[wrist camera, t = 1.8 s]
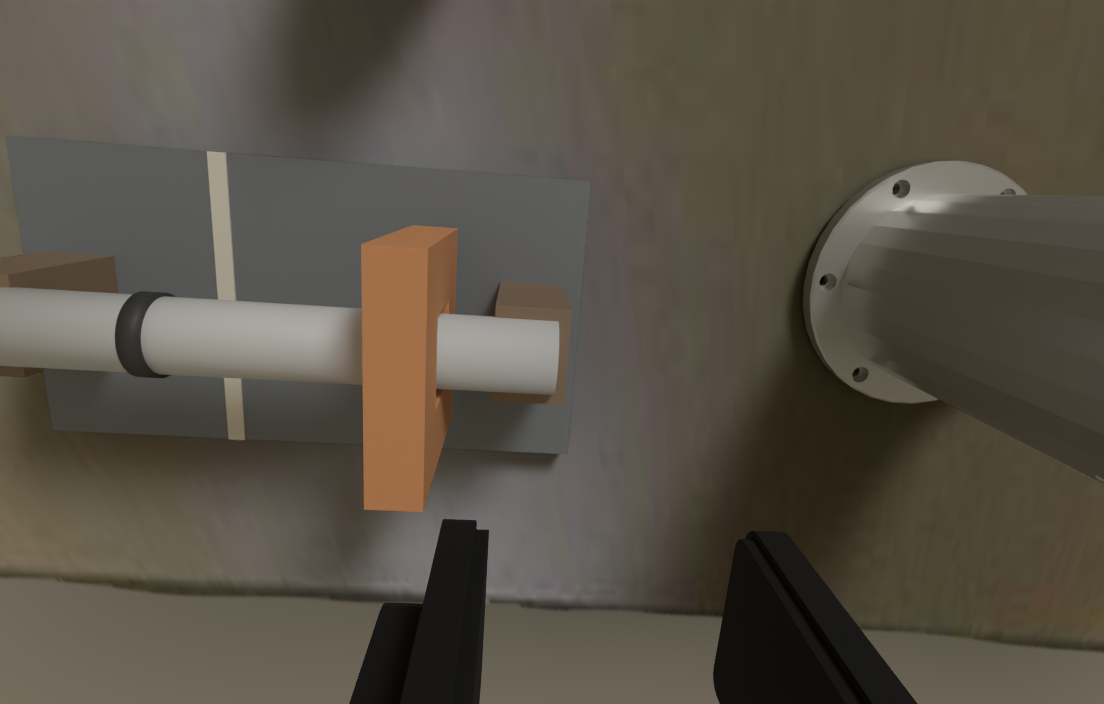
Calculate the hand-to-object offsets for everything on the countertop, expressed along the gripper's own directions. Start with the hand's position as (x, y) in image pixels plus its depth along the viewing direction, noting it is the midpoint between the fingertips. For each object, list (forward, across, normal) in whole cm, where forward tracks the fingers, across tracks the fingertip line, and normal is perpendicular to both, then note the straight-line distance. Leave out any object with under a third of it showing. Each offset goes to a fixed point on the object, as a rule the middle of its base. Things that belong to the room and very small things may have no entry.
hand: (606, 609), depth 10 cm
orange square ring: (+19, +6, 0) cm, 20 cm away
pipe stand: (+22, +12, 0) cm, 25 cm away
